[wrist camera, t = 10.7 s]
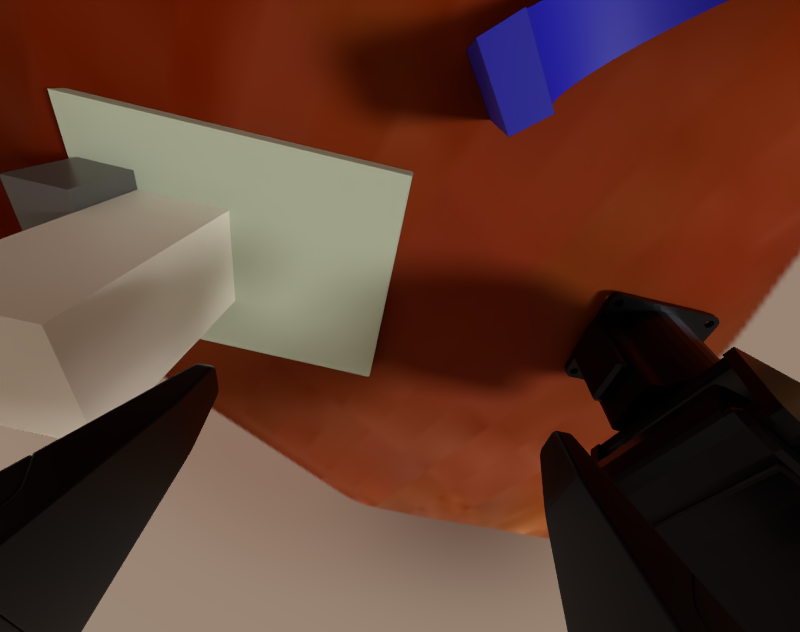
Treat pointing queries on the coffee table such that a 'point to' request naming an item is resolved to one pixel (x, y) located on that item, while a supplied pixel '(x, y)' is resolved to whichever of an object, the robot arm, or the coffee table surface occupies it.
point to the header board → (243, 219)
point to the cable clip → (562, 50)
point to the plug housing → (106, 305)
